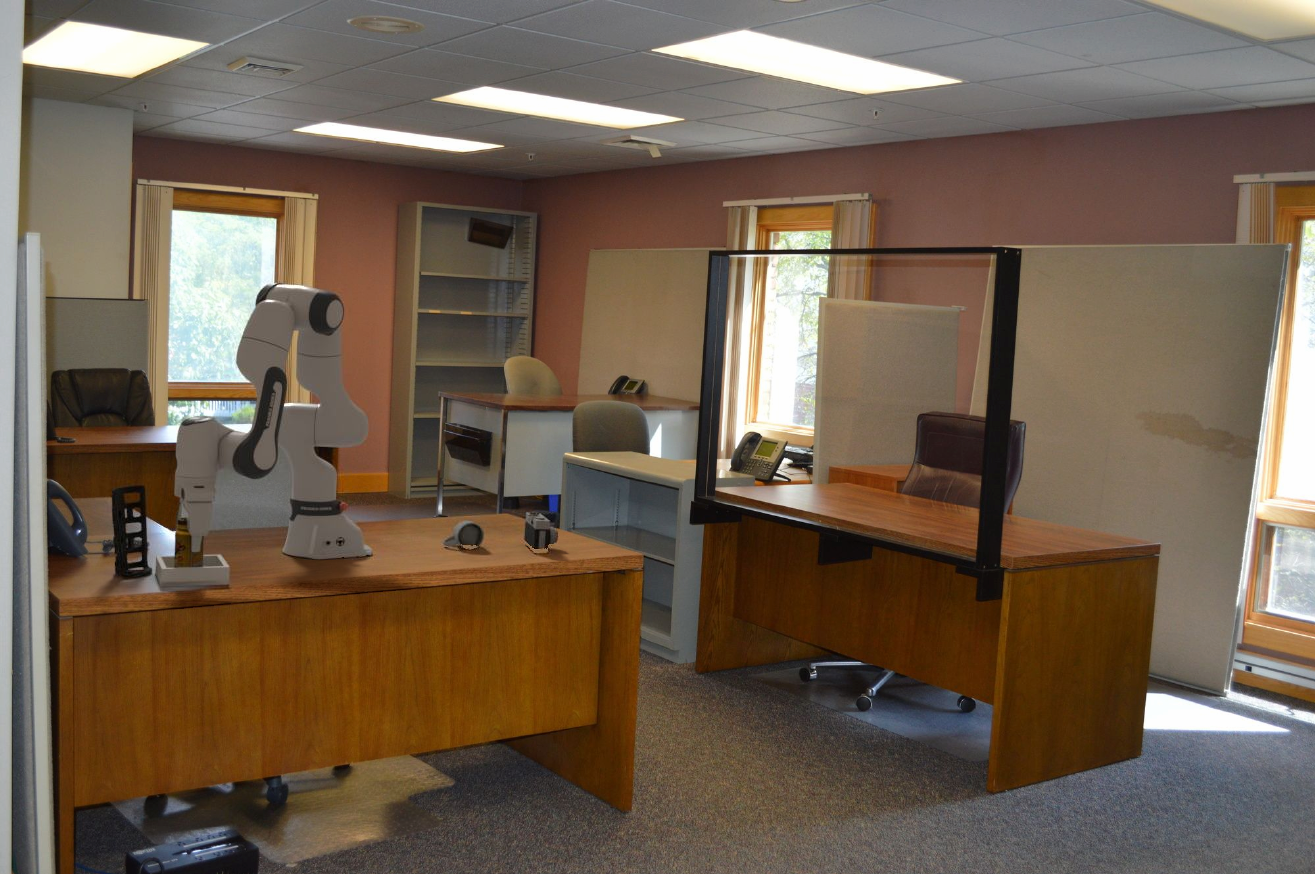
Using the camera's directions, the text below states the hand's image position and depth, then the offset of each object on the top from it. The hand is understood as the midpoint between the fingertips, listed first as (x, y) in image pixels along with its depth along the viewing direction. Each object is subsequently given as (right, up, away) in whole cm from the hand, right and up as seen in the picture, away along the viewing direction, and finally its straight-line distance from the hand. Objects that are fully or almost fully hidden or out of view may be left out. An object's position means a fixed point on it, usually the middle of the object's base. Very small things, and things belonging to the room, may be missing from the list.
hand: (193, 548), depth 257 cm
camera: (+72, -7, +67) cm, 99 cm away
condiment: (-1, -5, +1) cm, 5 cm away
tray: (-1, -7, +1) cm, 7 cm away
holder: (-15, -6, +1) cm, 16 cm away
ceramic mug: (+51, -6, +61) cm, 80 cm away
